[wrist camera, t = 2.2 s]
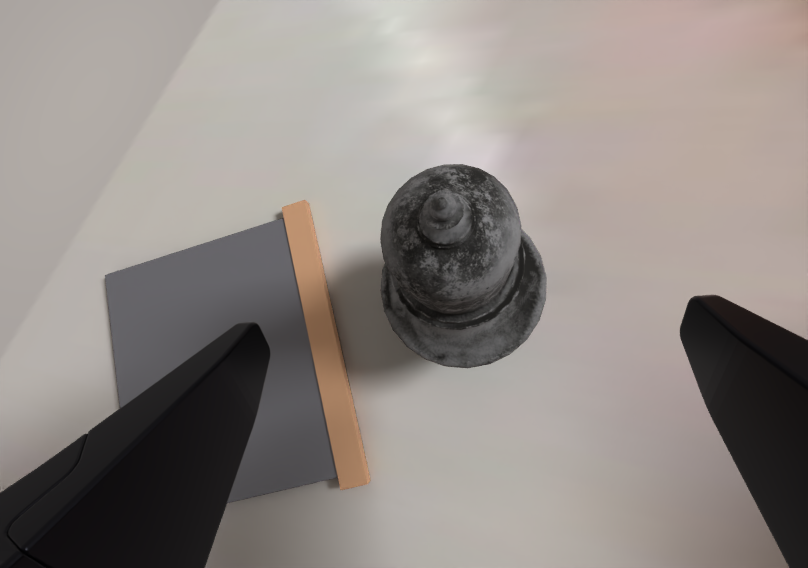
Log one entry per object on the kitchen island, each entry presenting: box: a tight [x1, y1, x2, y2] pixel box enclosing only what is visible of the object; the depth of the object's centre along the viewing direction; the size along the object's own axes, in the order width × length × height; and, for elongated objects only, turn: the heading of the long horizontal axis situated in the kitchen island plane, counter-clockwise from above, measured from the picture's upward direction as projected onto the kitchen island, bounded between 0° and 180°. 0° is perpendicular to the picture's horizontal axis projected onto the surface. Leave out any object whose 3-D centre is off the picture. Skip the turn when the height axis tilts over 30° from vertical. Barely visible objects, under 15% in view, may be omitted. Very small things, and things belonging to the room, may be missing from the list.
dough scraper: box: [105, 200, 371, 503], centre depth 19 cm, size 11×13×1 cm
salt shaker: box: [380, 164, 546, 368], centre depth 12 cm, size 6×6×12 cm
